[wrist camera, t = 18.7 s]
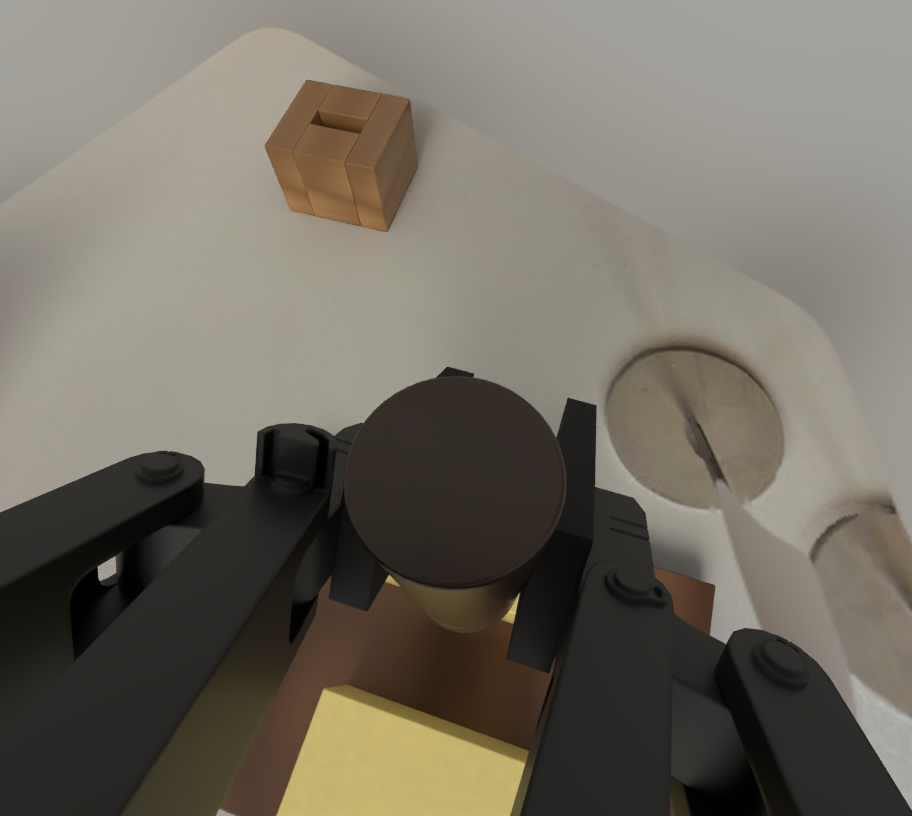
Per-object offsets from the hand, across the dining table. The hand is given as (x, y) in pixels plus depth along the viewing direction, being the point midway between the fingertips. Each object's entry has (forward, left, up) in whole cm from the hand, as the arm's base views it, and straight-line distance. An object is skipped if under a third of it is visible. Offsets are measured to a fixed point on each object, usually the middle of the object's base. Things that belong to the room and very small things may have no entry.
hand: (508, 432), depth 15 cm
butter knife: (0, +4, -8) cm, 9 cm away
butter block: (0, +10, -12) cm, 16 cm away
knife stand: (+15, -20, -13) cm, 28 cm away
